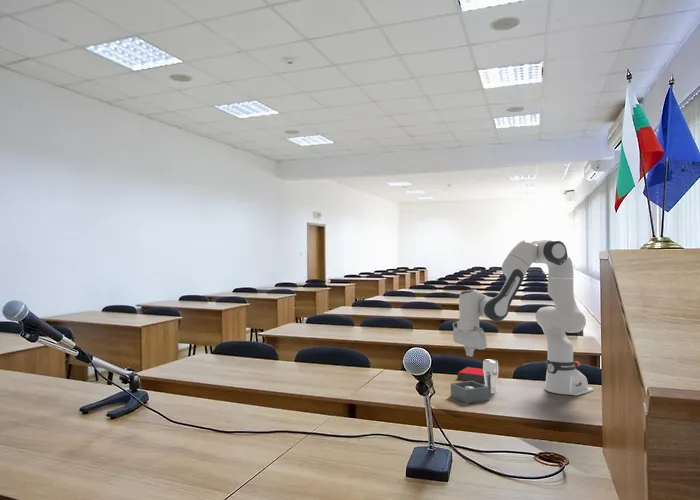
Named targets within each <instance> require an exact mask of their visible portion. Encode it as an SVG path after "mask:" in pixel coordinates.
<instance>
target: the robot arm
mask: <svg viewBox="0 0 700 500" xmlns="http://www.w3.org/2000/svg"><path fill="white" fill-rule="evenodd" d="M534 263H535V264H546V267H547V269H548V270H547V271H548V273H547V294H548V296H549V297H550V298H551V300H552V301H553V303H554V306H552V305H551V306H550V305H549V306H542V307H540V308H538V310H537V311H536V313H535V320H536V323H537V324H538V325H539V326H540V327H541V330H542V331H543V334H544V337H545V340H546V348H547V359H546V375H545V383H544V387H543V389H544V390H545V391H547V392H550V393H553V394H558V395H570V396H580V395H584V394H587V393H591V392H594V388H593V387H591V386H589V383H588V379H587V377H586V376H585V375H584V374H583V373H582V372H581V371H580V370H578V369H577V367H580V366H581V362H580V361H577V360H575V361H574V346H573V343H572V341H571V340H570V339H568V337H567V333H569V334H571V333H575V334H576V333H580V332H582V331H583V330H585V329H584V328H585V327H586V324H587V323H586V322H587V320H586V316H585V315H584V313H583V312H582V311H581V310H580V308H579V306H578V305H577V302H576V300H575V299H576V298H575V294H574V266H573V261H572V259H571V258H570V257H569V256H568V250H567V246H566V244H565V243H564V242H562V241H561V240H558V239H542V240H537V241H536V240H535V241H533V242H531V241H530V240H520V241H519V242H518V243H517V244H516V245H515V246H514V247H513V248H512V249H511V250H510V251H509V253H508V255H507V256H506V257H505V259H504V260H503V261H502V264H501V271H502V274H503V275H504V276H505V278H506V279H505V282H504V284H503V286H502V288H501V289H500V291H499V293H498V294H497V295H495V296H494V297H492V296H489V295H486V294H483V293H482V292H480V291H478V290H477V289H474V288H473V289H472V288H471V289H466V290H463V291H461V292H460V294H459V298H458V311H459V317H458V321H455V322H453V323H452V327H453V331H452V335H453V336H452V338H453V342H454V343H455V344H459V345H463V346H464V347H463V348H464V351H465V355H466V356H467V357H470V358H471V357H472V358H473V356H474V351H475V350H476V349H477V350H485V349H486V348H487V336H486V334H485V330H484V329H483V328H482V327H480V317H481V318H482V317H483V318H486V319H489V320H491V321H493V322H500V321H503V320H504V319H505V318H507V316H508V314H509V311H510V306H511V304H512V301H513V300H514V298H515V296H516V294H517V293H518V291H519V289H520V288H521V285H522V283H523V281H524V277H525V275H526V273H527V271H528V270H529V269H530V267H531V266H532V264H534Z"/></svg>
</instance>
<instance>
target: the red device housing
mask: <svg viewBox="0 0 700 500" xmlns="http://www.w3.org/2000/svg"><path fill="white" fill-rule="evenodd" d="M500 375H501V374H500V371H499V370H498V378H497V380H498V379H499V378H500V377H501V376H500ZM456 376H457V377H456V378H457V380H462V381H464V380H465V381H474V382H477V383H484V384H485V381H484V375H483V368H478V367H471V366H466V367H465V368H463V369H461V370H460V371H457V373H456Z"/></svg>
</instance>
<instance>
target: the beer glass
mask: <svg viewBox="0 0 700 500" xmlns="http://www.w3.org/2000/svg"><path fill="white" fill-rule="evenodd" d="M498 362H499V361H498V360H496V359H490V358H489V359H483V363H482V369H483V375H484V381H485V383H484V385H485V386H487V387H489V394H497V393H498V388H497V383H498V379H499V378H498V371H499V363H498ZM497 378H498V379H497Z"/></svg>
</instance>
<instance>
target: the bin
mask: <svg viewBox="0 0 700 500" xmlns="http://www.w3.org/2000/svg"><path fill="white" fill-rule="evenodd" d="M465 386H472V387H474V389H465ZM450 397H452V398H453V399H456V400H458V401H460V402H461V403H464V404H466V405H467V404H475V403H481V402H487V401H488V402H489V400H490V393H489V387H487V386H485V384H482V383H480V382H477V381H470V380H465V381H460V382H451V383H450Z"/></svg>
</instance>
